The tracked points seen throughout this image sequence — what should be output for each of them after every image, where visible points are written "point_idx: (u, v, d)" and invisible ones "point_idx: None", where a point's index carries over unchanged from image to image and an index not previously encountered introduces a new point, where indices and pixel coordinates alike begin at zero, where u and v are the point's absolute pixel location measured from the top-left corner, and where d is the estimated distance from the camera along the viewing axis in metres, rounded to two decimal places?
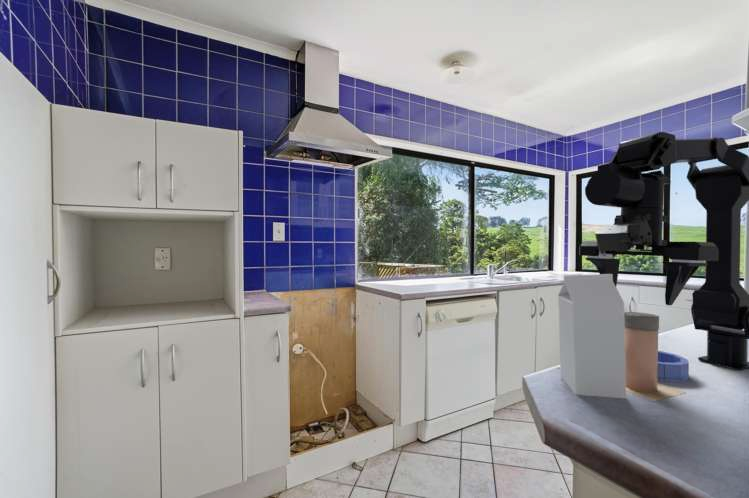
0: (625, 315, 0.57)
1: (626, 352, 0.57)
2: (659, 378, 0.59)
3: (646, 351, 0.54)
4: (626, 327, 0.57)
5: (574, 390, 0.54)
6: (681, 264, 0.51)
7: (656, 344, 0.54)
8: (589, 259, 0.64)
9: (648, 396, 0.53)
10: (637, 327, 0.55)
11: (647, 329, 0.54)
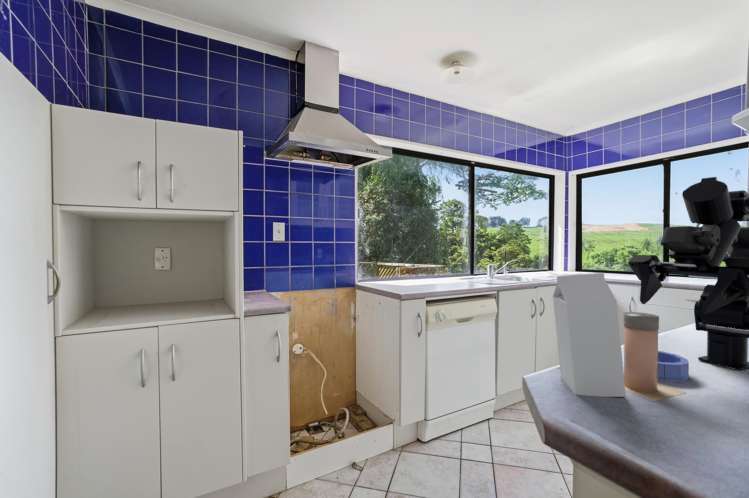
0: (625, 315, 0.57)
1: (626, 352, 0.57)
2: (659, 378, 0.59)
3: (646, 351, 0.54)
4: (626, 327, 0.57)
5: (574, 390, 0.54)
6: (738, 270, 0.53)
7: (656, 344, 0.54)
8: (638, 265, 0.66)
9: (648, 396, 0.53)
10: (637, 327, 0.55)
11: (647, 329, 0.54)
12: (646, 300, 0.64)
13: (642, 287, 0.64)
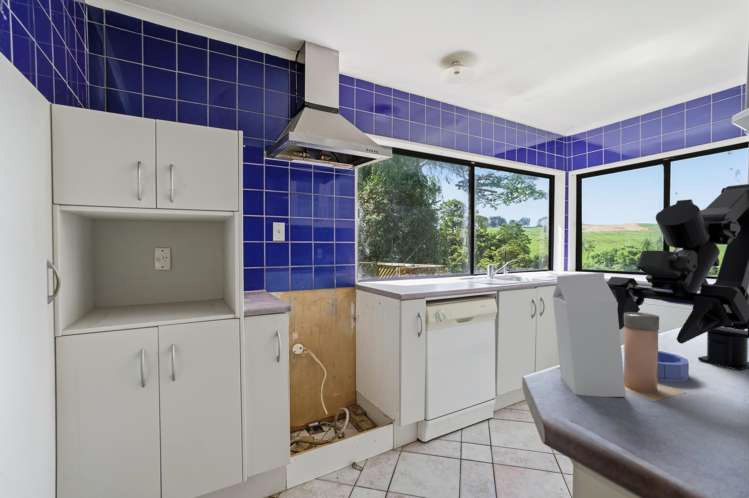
0: (625, 315, 0.57)
1: (626, 352, 0.57)
2: (659, 378, 0.59)
3: (646, 351, 0.54)
4: (626, 327, 0.57)
5: (574, 390, 0.54)
6: (714, 299, 0.51)
7: (656, 344, 0.54)
8: (615, 288, 0.64)
9: (648, 396, 0.53)
10: (637, 327, 0.55)
11: (647, 329, 0.54)
12: (622, 325, 0.61)
13: (618, 311, 0.62)
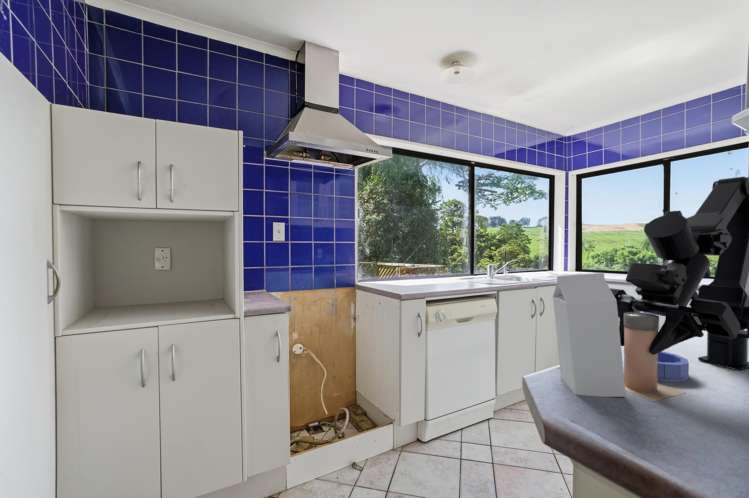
0: (625, 315, 0.57)
1: (626, 352, 0.57)
2: (659, 378, 0.59)
3: (646, 351, 0.54)
4: (626, 327, 0.57)
5: (574, 390, 0.54)
6: (684, 312, 0.52)
7: None
8: (617, 301, 0.61)
9: (648, 396, 0.53)
10: (637, 327, 0.55)
11: (647, 329, 0.54)
12: None
13: (621, 327, 0.59)
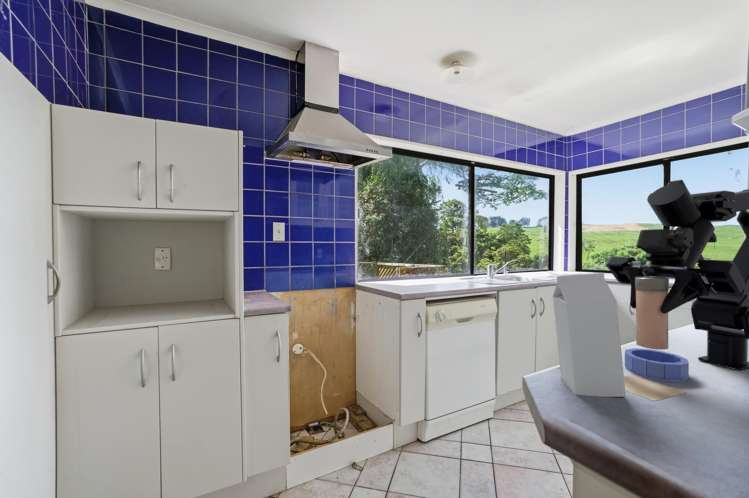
0: (637, 278, 0.60)
1: (638, 313, 0.60)
2: (659, 378, 0.59)
3: (658, 311, 0.58)
4: (638, 289, 0.60)
5: (574, 390, 0.54)
6: (692, 272, 0.56)
7: None
8: (628, 268, 0.65)
9: (648, 396, 0.53)
10: (648, 289, 0.58)
11: (658, 290, 0.58)
12: None
13: (632, 291, 0.63)
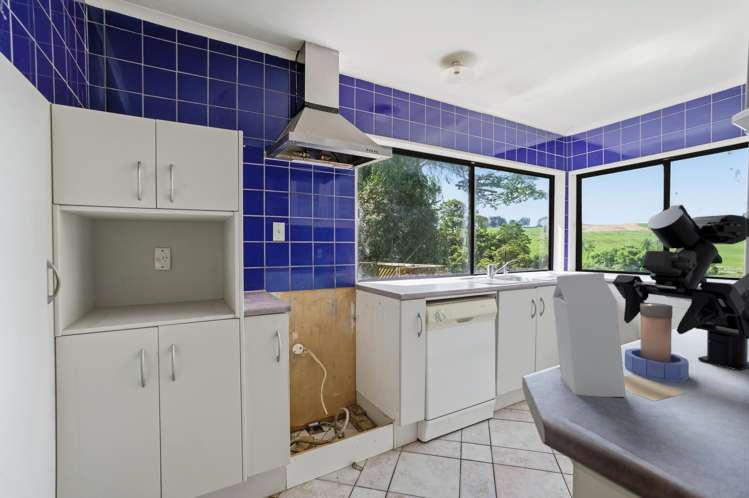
0: (642, 305, 0.64)
1: (642, 338, 0.64)
2: (659, 378, 0.59)
3: (661, 337, 0.61)
4: (643, 315, 0.63)
5: (574, 390, 0.54)
6: (709, 294, 0.57)
7: (670, 330, 0.61)
8: (623, 285, 0.70)
9: (648, 396, 0.53)
10: (653, 315, 0.62)
11: (662, 317, 0.61)
12: (630, 319, 0.67)
13: (626, 307, 0.68)
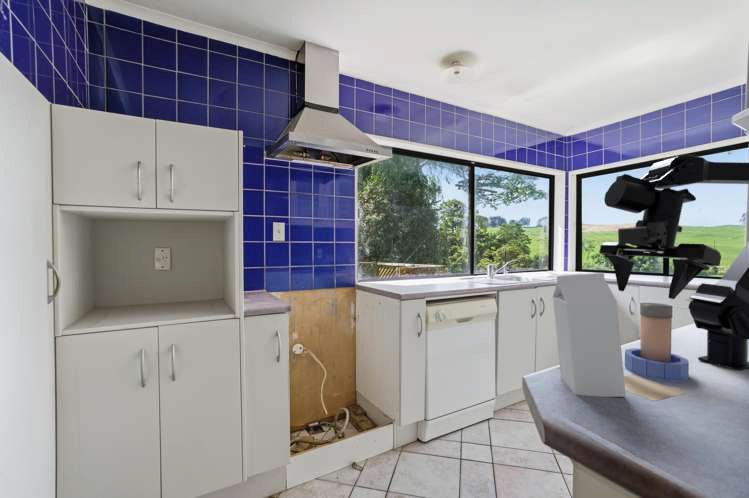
0: (642, 305, 0.64)
1: (642, 338, 0.64)
2: (659, 378, 0.59)
3: (661, 337, 0.61)
4: (643, 315, 0.63)
5: (574, 390, 0.54)
6: (688, 261, 0.60)
7: (670, 330, 0.61)
8: (607, 256, 0.74)
9: (648, 396, 0.53)
10: (653, 315, 0.62)
11: (662, 317, 0.61)
12: (624, 287, 0.72)
13: (617, 276, 0.73)
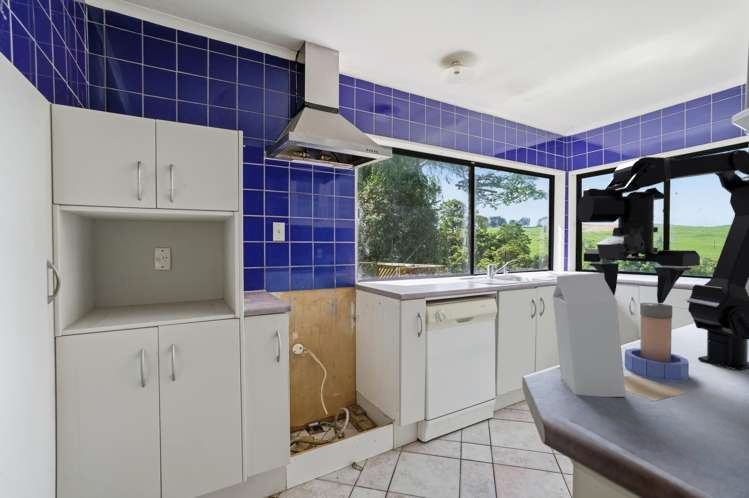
0: (642, 305, 0.64)
1: (642, 338, 0.64)
2: (659, 378, 0.59)
3: (661, 337, 0.61)
4: (643, 315, 0.63)
5: (574, 390, 0.54)
6: (669, 269, 0.61)
7: (670, 330, 0.61)
8: (592, 265, 0.75)
9: (648, 396, 0.53)
10: (653, 315, 0.62)
11: (662, 317, 0.61)
12: (614, 291, 0.74)
13: None
